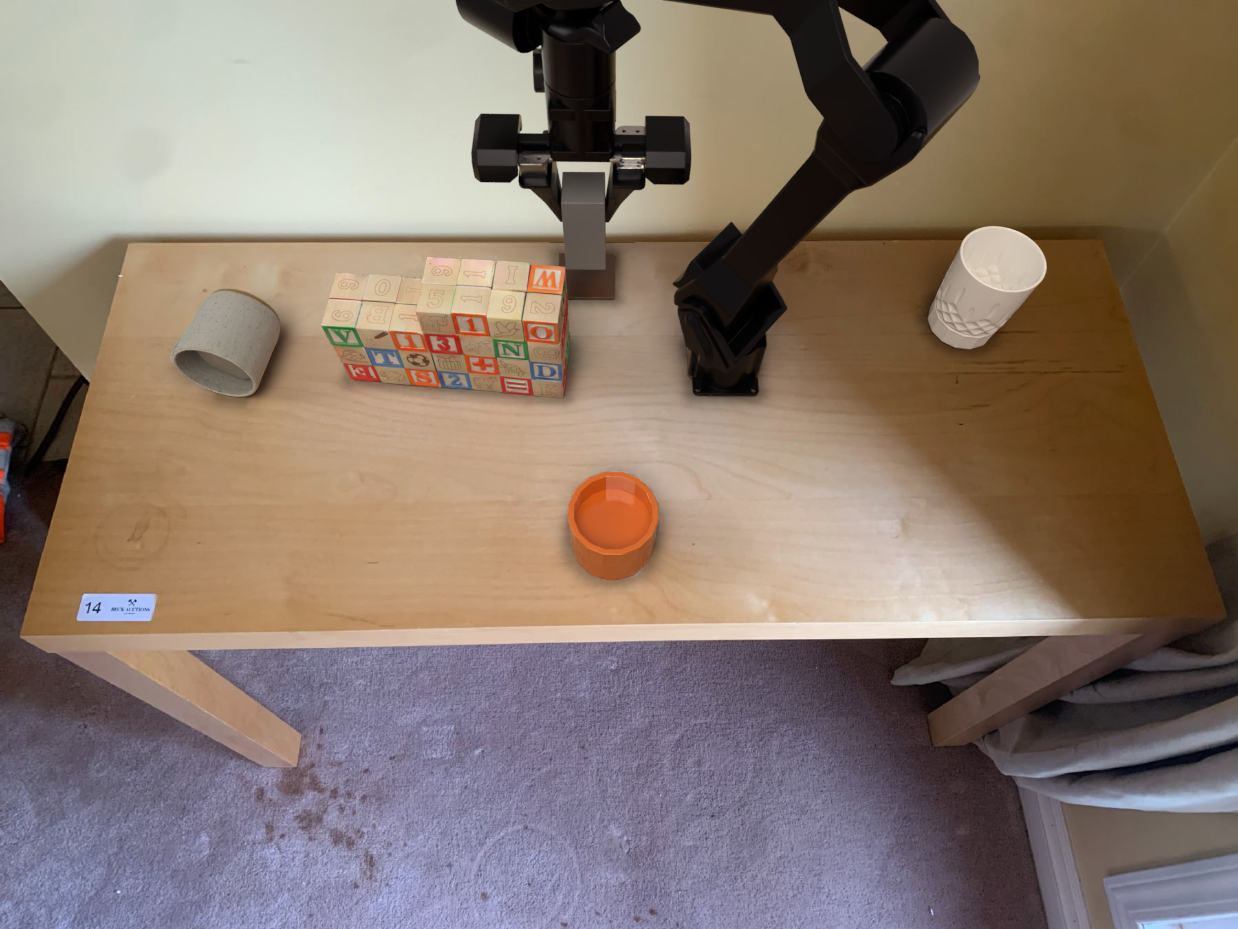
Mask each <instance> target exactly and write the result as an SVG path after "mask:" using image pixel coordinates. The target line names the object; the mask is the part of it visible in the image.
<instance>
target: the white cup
mask: <svg viewBox="0 0 1238 929" xmlns="http://www.w3.org/2000/svg"><path fill="white" fill-rule="evenodd" d="M1047 269H1048V267H1047V260H1046V256H1045V254H1044V252H1043V251H1042V249H1041V247H1039V245H1038V244H1037V243H1036V242H1035V241H1034V240H1033V239H1031V238H1030V237H1029V236H1027V235H1026V234H1024V233H1022V232H1020V231H1018V230H1015V229H1013V228H1009V227H1005V226H1001V225H1000V226H999V225H989V226H983V227H982V226H981V227H979V228H976V229H974V230H972V231H970V232H969V233H968V234H967V235H966V236H965V237H964V238H963V240H962V242H961V244H960V245H959V248H958V250H957V252H956V254H955V256H954V258H953V260H952V262H951V263H950V265H949V267H948V269H947V271H946V273H945V275H944V278H943V279H942V282H941V284H940V285H939V287H938V290H937V292H936V295H935V297H934V299H933V302H932V303H931V305H930V307H929V311H928V315H927V322H928V324H929V328H930V330H931V332H932V333H933V334H934V336H936V337H937V338H938V339H939V340H940V342H942V343H944V344H946V345H948V346H950V347H953V348H955V349H963V350H972V349H976V348H980V347H983V346H985V345H986V343H987V342H988V341H990V340H991V338H993V336H994V335H995V333H997V331H998V330H999V329H1001V328H1002V327H1003V326H1004V325H1005V324H1006V323H1007V321H1009V320H1010V318H1011V317H1012V316H1013V315H1014V313H1016V312H1017V311H1018V310H1019V309H1020V307H1021V306H1022V305H1023V304H1024V303H1025V301H1026V300H1027V299H1028V298H1029V297H1030V295H1031V294H1032V293H1033V292H1034V291H1035V290H1036V289H1037V287H1038V286H1039V285H1040V284H1041V283H1042V282H1043V280H1044V278H1045V276H1046V274H1047Z"/></svg>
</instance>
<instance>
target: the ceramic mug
mask: <svg viewBox="0 0 1238 929" xmlns="http://www.w3.org/2000/svg"><path fill="white" fill-rule="evenodd" d="M281 327H282V326H281V320H280V317H279V316H278V313H276V311H275V310H274V309H273V308H272V306H271V305H270V304H268V303H267V302H266V301H265V300H263V299H262V298H260V297H258V296H256V295H254V294H252V293H250V292H248V291H245V290H240V289H236V288H219V289H217V290H214V291H213V292H211V293H210V294H209V295H208V296H207V297H206V298H205V299H204V301H203V302H202V303H201V304H200V306H199V307H198V309H197V311H196V313H195V315H194V316H193V319H192V320H191V321H190V323H189V325H188V327H187V328H186V329H185V331H184V332H183V333H182V335H180V337H179V338H178V340H177V341H176V343H175V344H174V345H173V347H172V350H171V353H170V356H169V360H170V363H171V364H172V365H173V367H175V369H176V370H177V371H179V373H180V374H181V375H182V376H184V377H185V378H186V379H188V380H189V381H191V382H192V383H194V384H196V385H197V386H199V387H201V388H204V389H205V390H209V391H210V392H214V393H216V394H220V395H224V396H228V397H234V398H238V397H239V398H244V397H249V396H251V395H253V394H255V393H256V391H257V390H258V388H259V386H260V383H261V380H262V378H263V375H264V373H265V371H266V369H267V367H268V364H269V362H270V359H271V356H272V354H273V352H274V350H275V348H276V345H277V343H278V341H279V338H280V332H281Z"/></svg>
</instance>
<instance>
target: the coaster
mask: <svg viewBox="0 0 1238 929" xmlns="http://www.w3.org/2000/svg"><path fill="white" fill-rule="evenodd" d="M615 257H616V254H615V253H606V269H605V270H567V269H566V285H567V291H568V301H569V300H571V301H573V300H577V301H579V300H581V301H584V300H585V301H593V300H594V301H615V292H616V291H615V289H616V288H615V287H616V286H615V282H616V281H615V280H616V279H615V278H616V276H615V275H616V274H615V272H616V271H615V268H616V258H615ZM558 266H561V267H565V268H566V262H565V252H559V253H558Z"/></svg>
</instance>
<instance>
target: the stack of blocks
mask: <svg viewBox="0 0 1238 929" xmlns="http://www.w3.org/2000/svg"><path fill="white" fill-rule="evenodd" d="M320 327H321V328H322V330H323V332H324V334H325V336H326V338H327V339H328V341H329V343H330V345H331V346H332V347H333V349H334V351H335V353H336V355H337V356H338V358H339V361H340V362H341V363H342V365H343V367H344V369H345V371H346V373H347V375H348V376H349V378H350V380H353V381H368V382H381V383H383V384H384V383H385V384H393V385H394V384H395V385H407V386H408V385H409V386H411V385H412V386H416V387H417V386H418V387H427V388H428V387H429V388H448V389H458V390H459V389H461V390H475V391H487V392H499V393H504V394H512V395H523V396H535V397H542V398H556V399H563V398H565V392H566V385H567V376H568V364H569V358H570V353H571V352H570V351H571V339H570V338H571V337H570V336H571V335H570V322H569V299H568V291H567V285H566V268H565V267H561V266H559V265H546V264H545V265H544V264H531V263H529V262H524V261H511V260H510V261H509V260H496V261H495V260H492V259H476V258H475V259H473V258H462V259H460V258H451V257H436V256H435V257H434V256H433V257H432V256H427V257H426V260H425V266H424V269H423V275H422V277H421V278H419V277H418V278H417V277H406V276H405V277H404V276H400V275H388V274H375V273H374V274H373V273H370V274H364V273H353V272H340V271H339V272H336V273H335V276H334V280H333V283H332V286H331V289H330V293H329V296H328V302H327V305H326V308H325V311H324V314H323V318H322V321H321V324H320Z"/></svg>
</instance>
